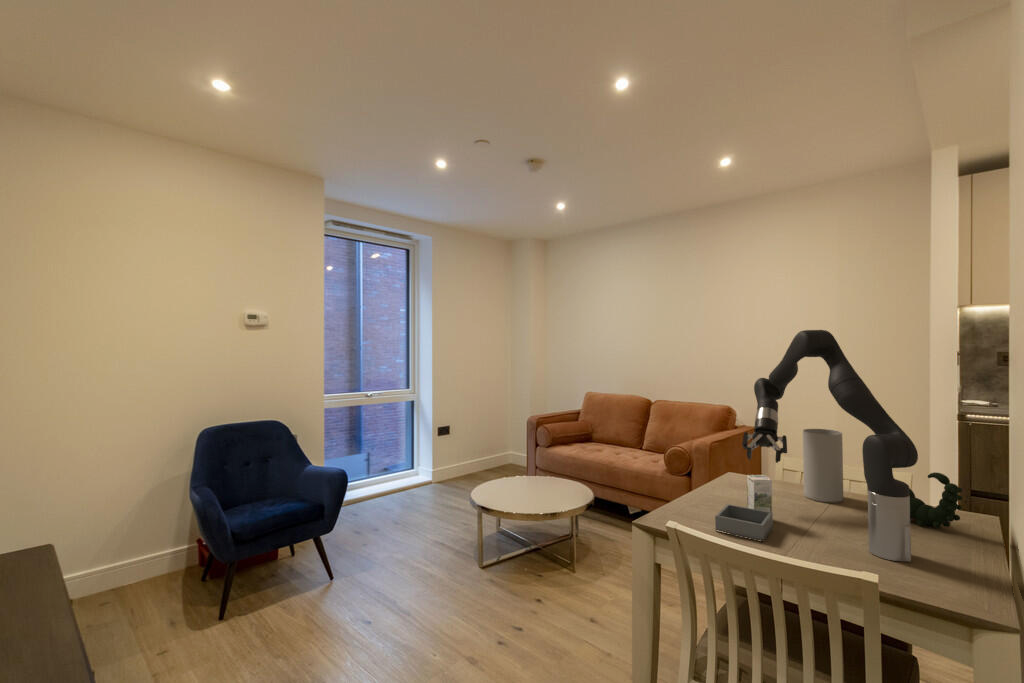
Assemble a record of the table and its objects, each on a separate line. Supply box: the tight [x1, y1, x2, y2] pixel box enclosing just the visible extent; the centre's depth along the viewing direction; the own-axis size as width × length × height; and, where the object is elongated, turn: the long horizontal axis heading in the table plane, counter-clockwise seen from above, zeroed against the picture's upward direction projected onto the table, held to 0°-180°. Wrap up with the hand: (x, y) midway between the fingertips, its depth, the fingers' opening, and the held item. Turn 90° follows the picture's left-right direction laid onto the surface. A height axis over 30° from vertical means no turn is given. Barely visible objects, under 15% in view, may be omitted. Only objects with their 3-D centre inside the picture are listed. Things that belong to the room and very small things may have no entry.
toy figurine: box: [909, 472, 963, 529], centre depth 156 cm, size 9×19×25 cm
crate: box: [714, 503, 774, 542], centre depth 151 cm, size 14×14×5 cm
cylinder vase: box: [802, 428, 844, 504], centre depth 180 cm, size 12×12×25 cm
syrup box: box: [746, 474, 773, 513], centre depth 159 cm, size 6×6×14 cm
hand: (763, 460), depth 169 cm, fingers open, 8 cm apart
